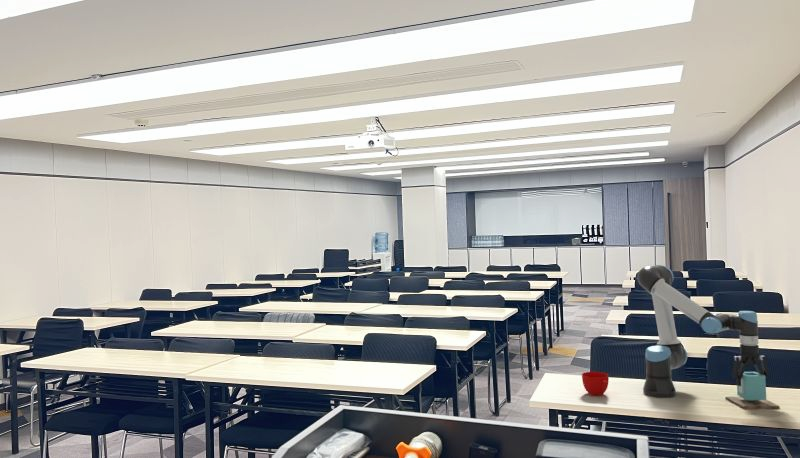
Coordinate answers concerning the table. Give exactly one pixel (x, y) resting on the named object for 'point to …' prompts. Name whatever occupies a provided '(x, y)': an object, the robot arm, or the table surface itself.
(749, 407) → the board
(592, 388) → the ceramic cup
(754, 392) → the teal open-top box
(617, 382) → the table surface
